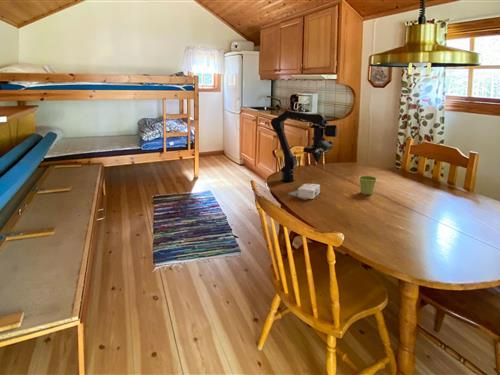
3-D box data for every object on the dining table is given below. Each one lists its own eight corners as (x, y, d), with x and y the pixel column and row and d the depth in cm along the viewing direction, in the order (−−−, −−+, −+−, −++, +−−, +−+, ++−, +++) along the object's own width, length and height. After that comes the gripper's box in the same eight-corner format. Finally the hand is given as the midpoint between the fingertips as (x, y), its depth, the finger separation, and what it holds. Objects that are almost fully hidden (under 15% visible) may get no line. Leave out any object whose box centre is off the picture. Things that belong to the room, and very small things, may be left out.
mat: (287, 193, 200) (287, 193, 200) (301, 189, 207) (301, 189, 207) (304, 199, 191) (304, 199, 191) (318, 195, 197) (318, 195, 197)
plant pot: (353, 192, 201) (355, 177, 198) (364, 189, 206) (365, 174, 204) (368, 197, 194) (369, 181, 191) (379, 193, 199) (380, 178, 196)
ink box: (305, 190, 204) (297, 197, 194) (305, 182, 203) (297, 188, 193) (320, 193, 200) (312, 199, 190) (320, 184, 199) (313, 190, 189)
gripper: (318, 140, 196) (317, 168, 201) (340, 135, 207) (338, 162, 212) (303, 137, 205) (302, 164, 209) (324, 133, 216) (323, 159, 221)
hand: (317, 162), depth 213 cm, fingers closed
